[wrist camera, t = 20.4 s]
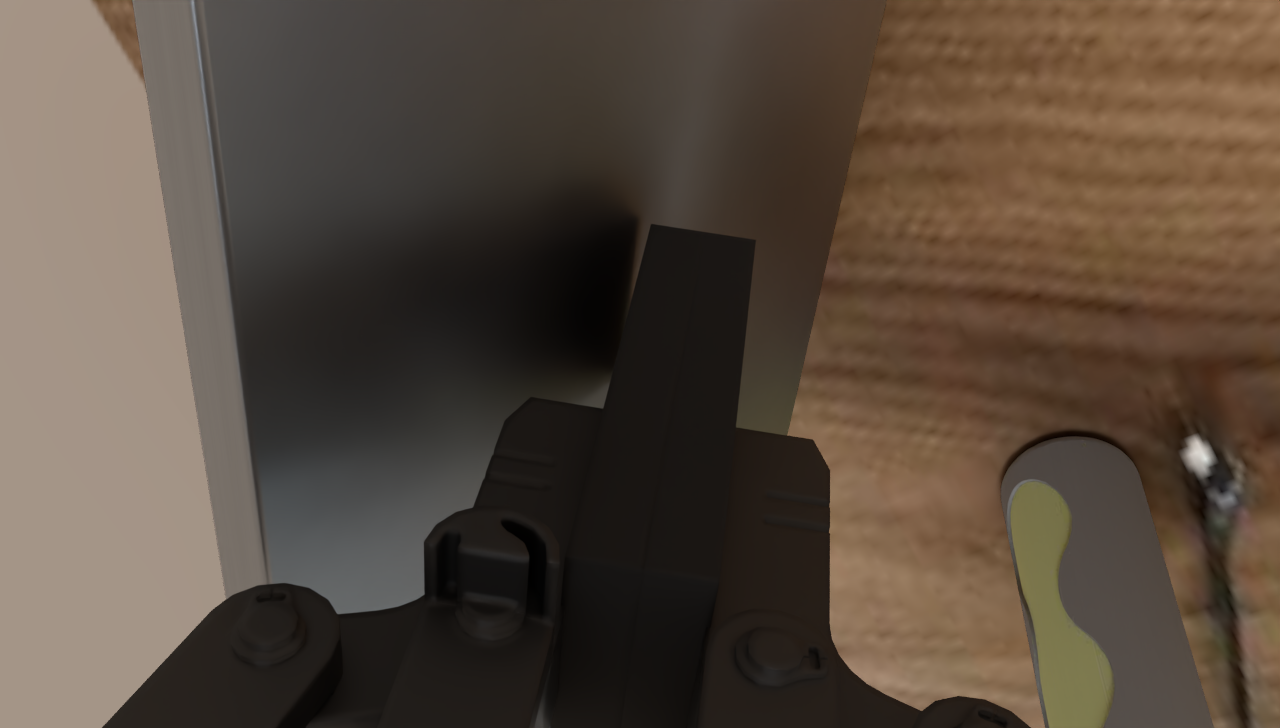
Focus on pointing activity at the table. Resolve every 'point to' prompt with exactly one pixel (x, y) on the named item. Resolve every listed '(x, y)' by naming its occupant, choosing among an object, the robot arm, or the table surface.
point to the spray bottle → (1097, 592)
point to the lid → (464, 234)
